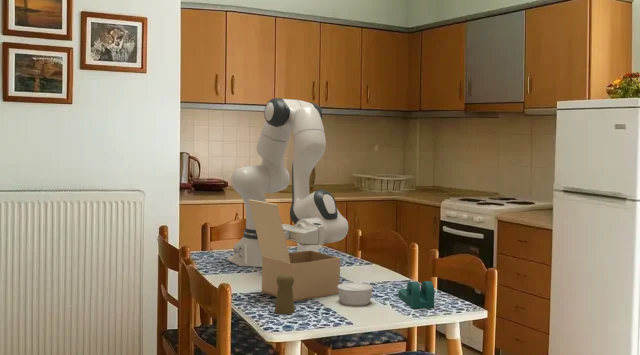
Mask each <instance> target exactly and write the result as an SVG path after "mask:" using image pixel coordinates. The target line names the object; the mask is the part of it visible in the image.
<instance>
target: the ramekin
mask: <svg viewBox="0 0 640 355" xmlns="http://www.w3.org/2000/svg"><path fill="white" fill-rule="evenodd" d="M337 289H338V293H339V294H338V298H339V302H340V303H341V304H343V305H346V306H351V307H353V306H354V307H359V306H360V307H361V306H366V305H368V304H370V303H371V299H372V295H373V294H372V293H373V291H374V287H373V285H371V284H368V283H365V282H355V281H354V282H351V281H350V282H344V283H340V284H339V285H338V286H337Z"/></svg>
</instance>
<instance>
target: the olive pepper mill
mask: <svg viewBox="0 0 640 355" xmlns="http://www.w3.org/2000/svg"><path fill="white" fill-rule="evenodd" d="M293 284H294V278H293V276H292V275H288V274H282V275H279V276H278V277H277V285H278V292H277V297H275V298H276V299H275V307H274V313H276V314H279V315H291V314H295V313H296V310H295V302H294V299H293V290H292V286H293Z"/></svg>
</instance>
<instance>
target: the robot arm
mask: <svg viewBox="0 0 640 355" xmlns="http://www.w3.org/2000/svg"><path fill="white" fill-rule="evenodd" d="M263 115H264V119H265V121H264V123H263V126H262V129H261V132H260V134H259V139H258V141H257V144H256V151H257V154H258V155H259V157H261V159H262V161H261V164H260V165H246V166H245V165H244V166H241V167H238V168H236V169H235V170H233V172H232V174H231V179H230V180H231V181H230V182H231V186H232V188H233V190H234V191H235V192H237V193H238V194H239V196H240V197H241V199H242V201H243V204H244V207H245V221H246V222H245V223H246V224H245V228H243V229H242V232H243V235H242V238H241V239H240V240H238V242H237V243H235V244H234V246H233V252H232V253H233V254H232V255H231V256H228V257H227V258H226V261H228V262H231V263H233V264H235V265H237V266H239V267H255V268H258V267H259V268H262V255H261V250H260V246H259V242H258V237H257V233H256V229H255V224H254V220H253V216H252V211H251V207H250V202H249V200H256V201H262V202H267V200H266V196H265V194H272V193H278V192H281V191H283V190H286V189H287V188H288V187H289V184H290V181H291V195H292V196H291V197H292V198H291V205H290V208H289V216H290V220H291V221H292V222H293V224H294V225H292V224H287V223H282V227H283V231H284V236H285V240H287V241H290V242H294V243H297V242H298V243H299V244H300V245H302V246H307V245H319V246H323V245H324V244H330V243H331V244H332V243H337V242H340V241H341V240H343V239H344V238H346V236H347V234H348V233H349V222H348V220H347V219H346V217H344V216H343V215H342V214H341V213H340V211H339V209H338V207H337V206H338V205H337V202H336V198H335V196H334V195H333V194H332V192H330V191H328V190H327V189H323V188H322V189H321V188H320V189H317V190H316V191H314V192H311V193H310V176H311V174H312V171H313V169H314V168H315V167H316V165H317V164H318V163H319V161H320V160H321V159H322V157H323V156H324V155H325V152H326V148H327V139H326V134H325V128H324V124H323V111H322V109H321V107H320V106H319V105H318V104H317V103H314V102H309V101H304V100H302V99H301V100H300V99H291V98H290V99H289V98H281V97H276V98H271V99H269V100H268V102H266V105H265V108H264V114H263ZM292 132H293V133H292ZM291 134H293V144H294V145H293V146H294V147H293V148H294V150H293V158H292V159H293V160H292V165H291V178H290V173H289V171H288V169H287V168H286V167H285V162H284V161H285V154H286V150H287V147H288V143H289V142H290V139H291V138H290V137H291ZM290 179H291V180H290Z"/></svg>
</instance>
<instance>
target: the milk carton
mask: <svg viewBox="0 0 640 355" xmlns="http://www.w3.org/2000/svg"><path fill="white" fill-rule="evenodd" d="M296 244H297V245H296V252H302V251H314V252H318V253H320V245H307V246H302V245H300V244H299V243H298V242H296Z"/></svg>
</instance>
